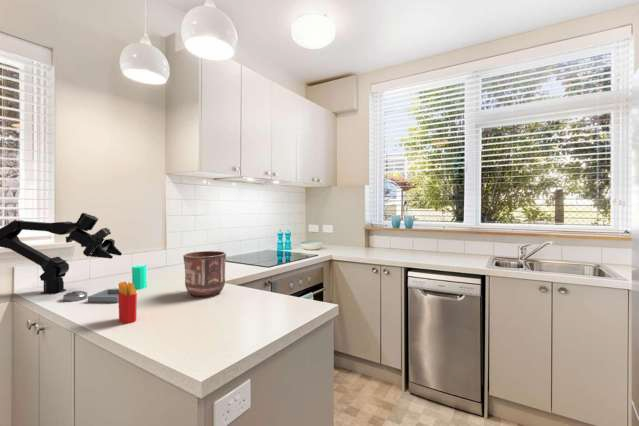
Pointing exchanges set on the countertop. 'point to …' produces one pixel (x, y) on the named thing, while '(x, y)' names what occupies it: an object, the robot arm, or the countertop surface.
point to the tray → (104, 296)
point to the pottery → (204, 273)
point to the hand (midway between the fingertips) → (116, 256)
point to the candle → (139, 276)
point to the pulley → (75, 296)
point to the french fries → (127, 302)
